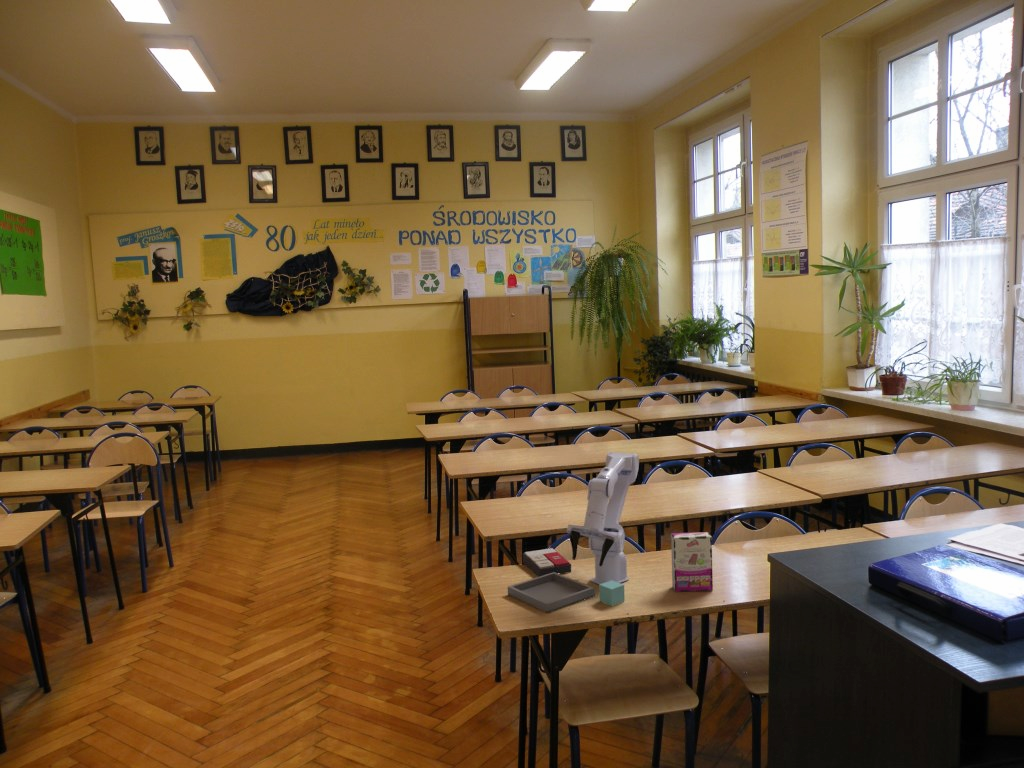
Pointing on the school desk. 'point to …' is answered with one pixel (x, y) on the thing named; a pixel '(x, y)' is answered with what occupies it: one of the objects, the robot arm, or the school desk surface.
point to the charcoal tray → (551, 591)
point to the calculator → (546, 562)
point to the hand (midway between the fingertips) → (587, 561)
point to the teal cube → (611, 592)
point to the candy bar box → (691, 562)
